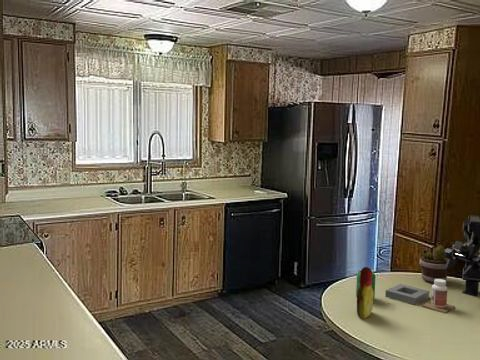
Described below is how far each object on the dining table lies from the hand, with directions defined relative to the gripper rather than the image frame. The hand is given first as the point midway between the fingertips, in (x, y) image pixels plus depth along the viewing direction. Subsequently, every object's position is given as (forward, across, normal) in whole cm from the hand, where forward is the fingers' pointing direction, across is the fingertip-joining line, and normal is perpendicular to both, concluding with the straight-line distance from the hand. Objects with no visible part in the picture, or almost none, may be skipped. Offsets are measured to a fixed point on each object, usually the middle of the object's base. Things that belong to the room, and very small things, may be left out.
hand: (454, 273), depth 212 cm
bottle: (+42, -4, -22) cm, 47 cm away
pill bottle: (+16, 0, +3) cm, 16 cm away
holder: (+18, -14, +1) cm, 23 cm away
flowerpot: (-3, -27, +23) cm, 36 cm away
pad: (+16, +1, +3) cm, 16 cm away
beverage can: (+32, -20, -12) cm, 40 cm away
